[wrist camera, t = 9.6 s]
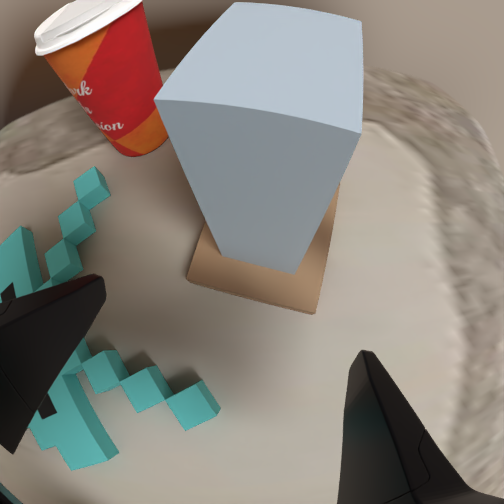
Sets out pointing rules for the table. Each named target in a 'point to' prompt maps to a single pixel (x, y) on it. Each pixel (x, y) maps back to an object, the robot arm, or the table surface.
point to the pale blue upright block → (267, 125)
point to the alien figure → (97, 367)
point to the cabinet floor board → (266, 271)
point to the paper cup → (108, 69)
